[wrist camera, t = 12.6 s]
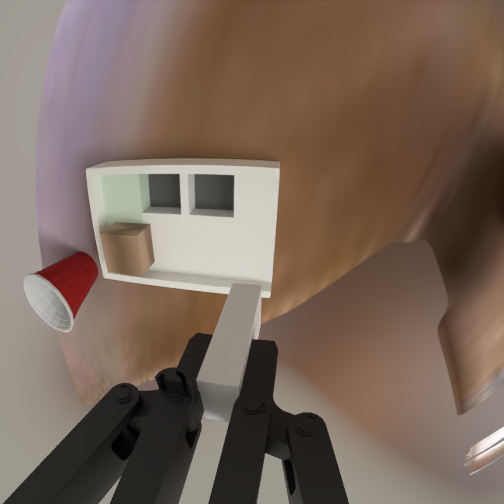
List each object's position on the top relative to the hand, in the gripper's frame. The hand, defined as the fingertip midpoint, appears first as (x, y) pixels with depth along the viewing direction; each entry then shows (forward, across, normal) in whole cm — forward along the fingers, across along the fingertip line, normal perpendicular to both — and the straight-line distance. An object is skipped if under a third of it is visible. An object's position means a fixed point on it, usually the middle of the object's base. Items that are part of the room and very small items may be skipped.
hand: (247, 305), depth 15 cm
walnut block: (+19, +18, +6) cm, 27 cm away
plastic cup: (+22, +32, +13) cm, 41 cm away
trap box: (+22, +12, +3) cm, 25 cm away
